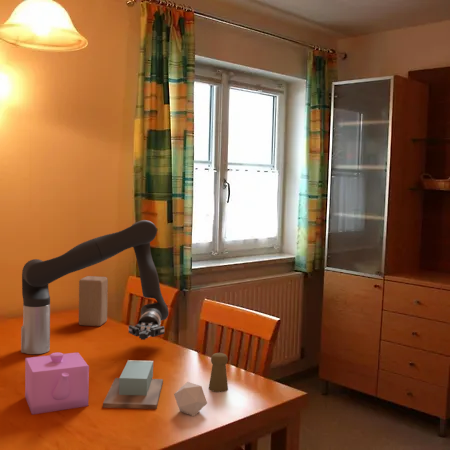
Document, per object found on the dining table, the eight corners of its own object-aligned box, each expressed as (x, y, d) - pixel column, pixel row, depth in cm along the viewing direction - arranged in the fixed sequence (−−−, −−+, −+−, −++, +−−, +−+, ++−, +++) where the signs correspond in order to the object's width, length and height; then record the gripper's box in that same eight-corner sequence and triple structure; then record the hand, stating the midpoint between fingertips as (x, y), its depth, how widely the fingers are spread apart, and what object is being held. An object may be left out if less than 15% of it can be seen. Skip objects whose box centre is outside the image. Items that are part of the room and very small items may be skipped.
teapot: (36, 425, 146) (36, 372, 145) (22, 391, 168) (23, 345, 167) (94, 416, 153) (95, 365, 151) (74, 384, 175) (75, 340, 174)
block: (107, 321, 250) (108, 276, 249) (100, 327, 240) (101, 280, 239) (85, 319, 251) (86, 275, 250) (77, 325, 241) (78, 279, 240)
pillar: (127, 375, 181) (119, 394, 165) (128, 360, 180) (119, 378, 164) (152, 376, 181) (146, 395, 165) (153, 361, 180) (146, 378, 164)
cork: (231, 387, 177) (232, 352, 176) (223, 393, 171) (224, 358, 170) (213, 383, 179) (215, 349, 178) (205, 389, 174) (206, 355, 173)
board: (102, 407, 158) (102, 403, 158) (115, 381, 178) (115, 377, 178) (156, 408, 158) (156, 404, 158) (162, 382, 178) (162, 379, 178)
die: (212, 414, 158) (205, 380, 162) (203, 409, 150) (196, 374, 155) (185, 422, 159) (179, 388, 164) (174, 418, 151) (168, 382, 156)
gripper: (131, 312, 203) (123, 325, 186) (168, 313, 204) (163, 326, 186) (130, 332, 204) (122, 347, 187) (167, 333, 204) (162, 348, 187)
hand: (143, 336), depth 187 cm, fingers closed
